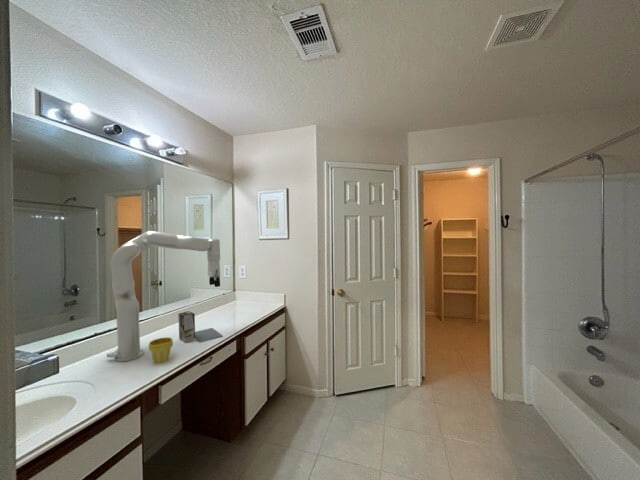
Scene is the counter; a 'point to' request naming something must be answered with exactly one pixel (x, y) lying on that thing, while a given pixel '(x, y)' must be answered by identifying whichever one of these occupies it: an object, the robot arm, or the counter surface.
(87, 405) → the counter surface
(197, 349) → the counter surface
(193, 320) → the coffee box
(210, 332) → the mat
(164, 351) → the plant pot
